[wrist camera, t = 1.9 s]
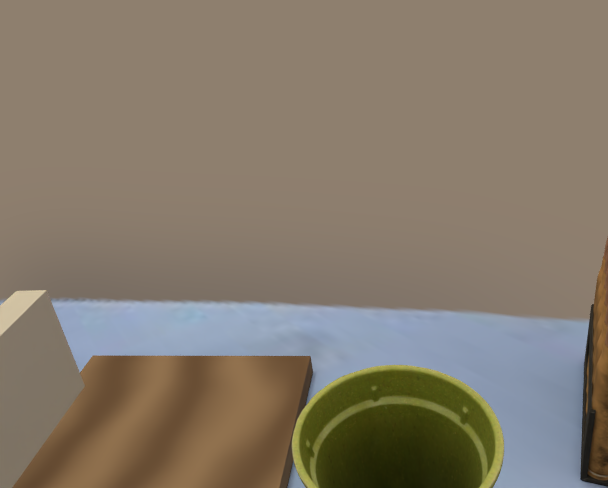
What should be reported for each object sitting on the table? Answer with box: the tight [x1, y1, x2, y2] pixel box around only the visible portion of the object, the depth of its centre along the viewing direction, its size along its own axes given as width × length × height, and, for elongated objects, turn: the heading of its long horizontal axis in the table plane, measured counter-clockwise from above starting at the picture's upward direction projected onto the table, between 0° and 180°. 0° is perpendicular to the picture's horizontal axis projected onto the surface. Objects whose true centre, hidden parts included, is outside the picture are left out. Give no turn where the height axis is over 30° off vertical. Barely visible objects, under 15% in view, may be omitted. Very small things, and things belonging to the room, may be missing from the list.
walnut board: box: [12, 356, 313, 488], centre depth 38 cm, size 18×16×2 cm
